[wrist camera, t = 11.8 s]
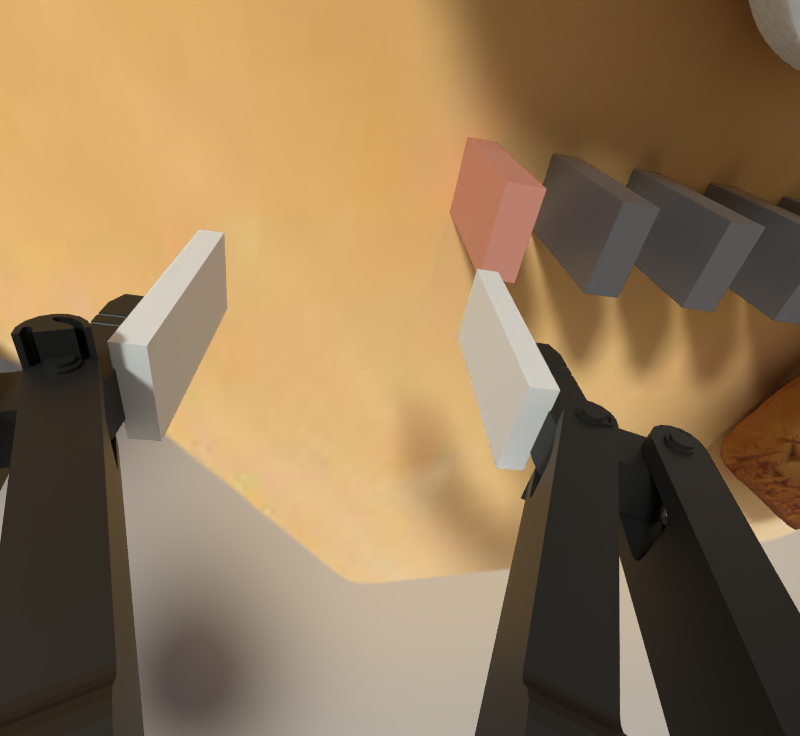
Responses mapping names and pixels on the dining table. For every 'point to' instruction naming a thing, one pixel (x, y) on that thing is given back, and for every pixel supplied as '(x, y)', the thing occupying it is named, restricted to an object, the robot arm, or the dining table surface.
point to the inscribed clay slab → (770, 452)
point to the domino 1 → (495, 207)
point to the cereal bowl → (779, 27)
